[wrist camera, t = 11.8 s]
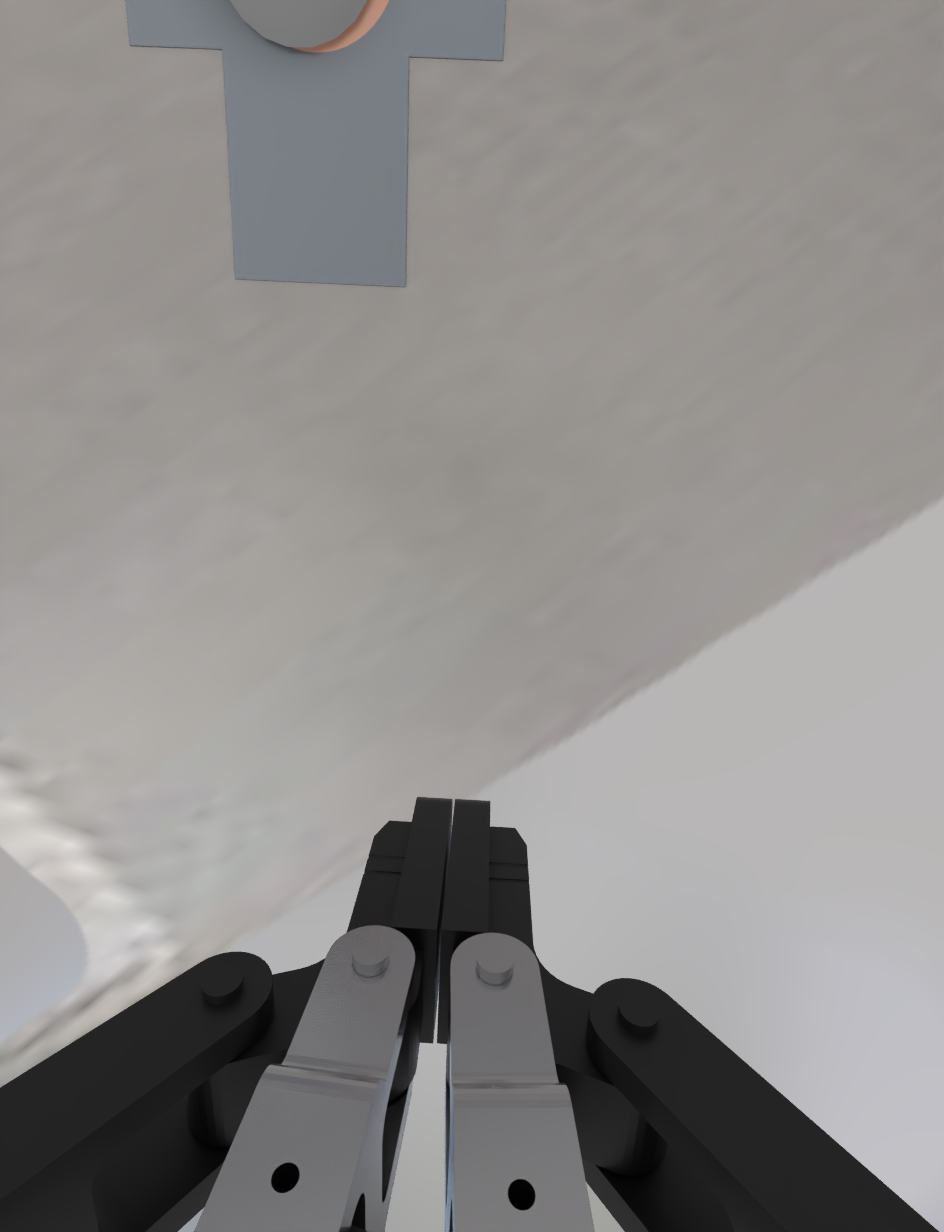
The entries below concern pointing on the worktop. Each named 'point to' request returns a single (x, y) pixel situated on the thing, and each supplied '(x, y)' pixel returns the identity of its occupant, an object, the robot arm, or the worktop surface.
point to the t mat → (322, 128)
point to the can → (299, 19)
